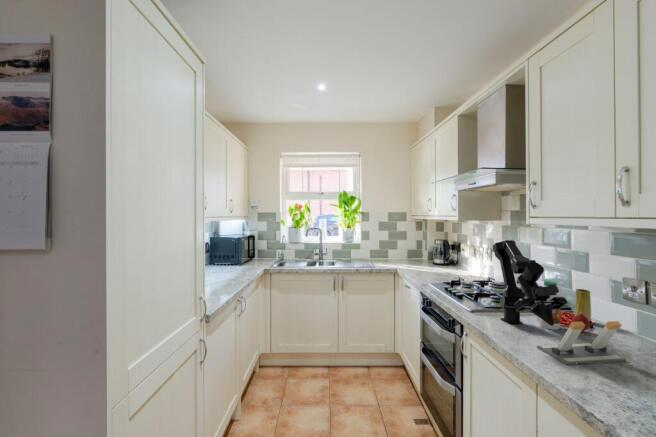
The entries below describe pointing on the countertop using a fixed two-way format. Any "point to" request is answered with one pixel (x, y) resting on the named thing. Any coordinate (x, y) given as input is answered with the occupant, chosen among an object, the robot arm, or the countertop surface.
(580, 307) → the vase
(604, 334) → the on lever
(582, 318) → the onion
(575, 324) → the lever
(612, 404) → the countertop surface
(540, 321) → the milk bottle
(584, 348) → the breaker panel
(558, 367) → the countertop surface
